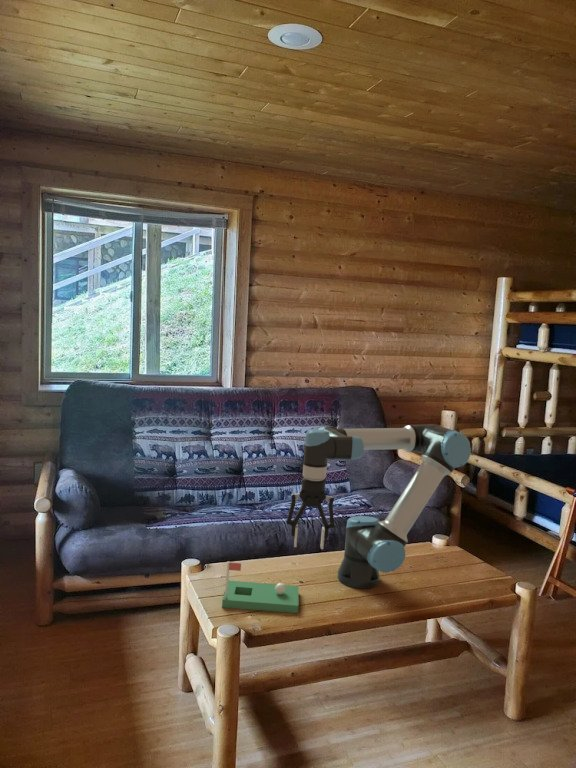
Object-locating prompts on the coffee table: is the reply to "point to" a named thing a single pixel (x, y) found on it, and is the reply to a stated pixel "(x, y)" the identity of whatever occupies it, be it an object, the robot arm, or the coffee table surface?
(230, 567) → the pin
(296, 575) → the coffee table surface
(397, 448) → the robot arm
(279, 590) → the ball
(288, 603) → the green
